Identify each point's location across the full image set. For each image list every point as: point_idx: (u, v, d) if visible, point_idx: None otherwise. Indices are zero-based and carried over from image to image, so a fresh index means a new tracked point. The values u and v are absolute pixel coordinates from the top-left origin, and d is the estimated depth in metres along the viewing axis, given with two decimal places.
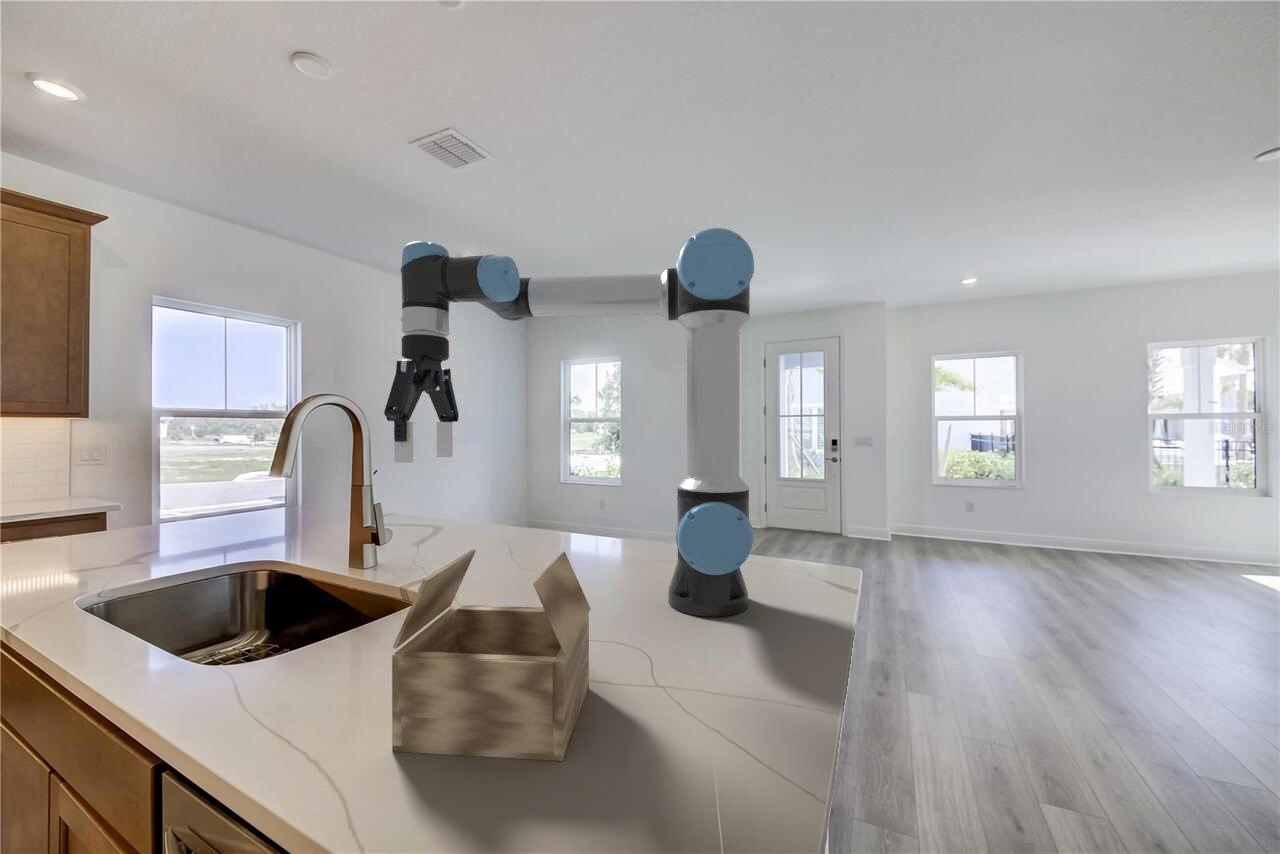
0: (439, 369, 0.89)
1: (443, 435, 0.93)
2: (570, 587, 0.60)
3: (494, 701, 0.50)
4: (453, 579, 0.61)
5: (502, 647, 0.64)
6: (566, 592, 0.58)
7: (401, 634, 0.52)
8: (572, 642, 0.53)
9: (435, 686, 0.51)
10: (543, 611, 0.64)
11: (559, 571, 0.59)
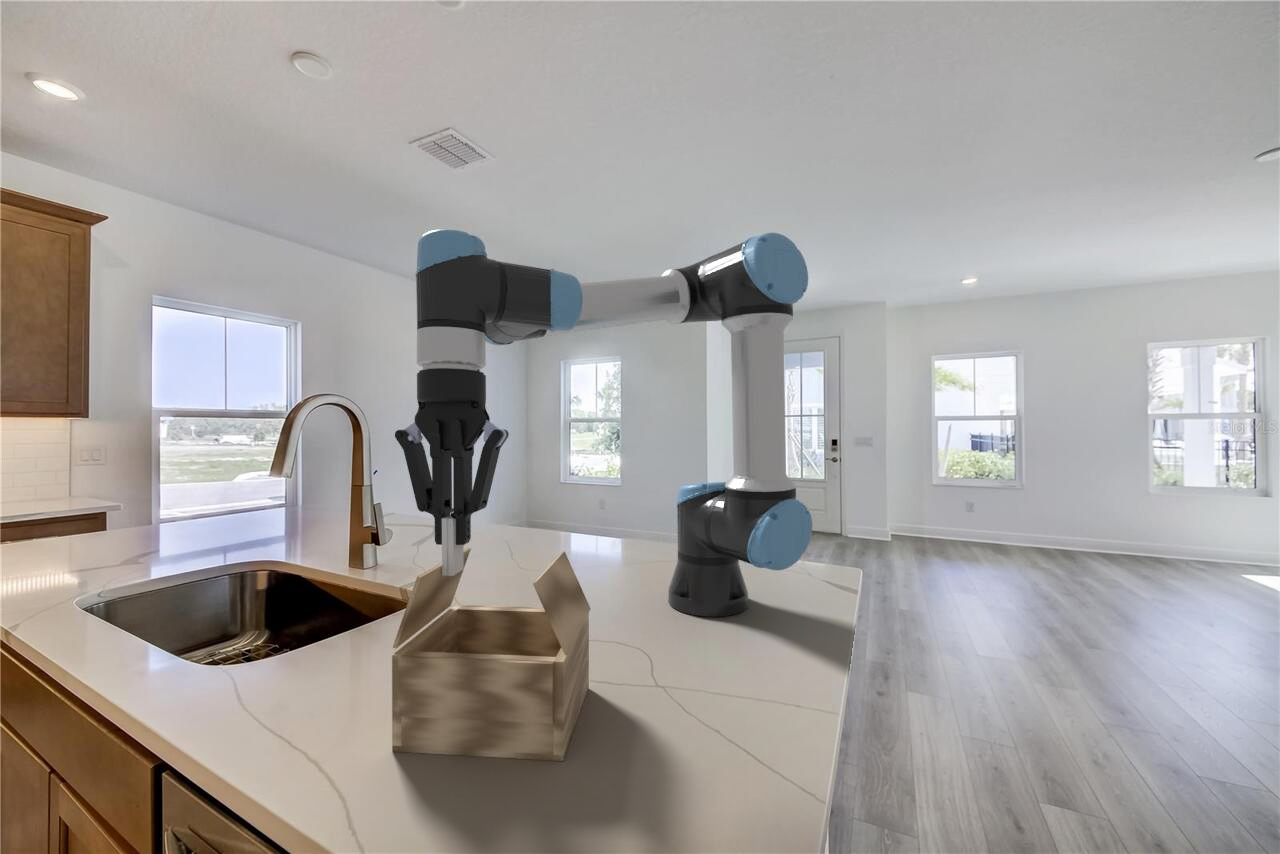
0: (473, 414, 0.57)
1: None
2: (570, 587, 0.60)
3: (494, 701, 0.50)
4: (450, 577, 0.61)
5: (502, 647, 0.64)
6: (566, 592, 0.58)
7: (400, 633, 0.52)
8: (572, 642, 0.53)
9: (435, 686, 0.51)
10: (543, 611, 0.64)
11: (559, 571, 0.59)
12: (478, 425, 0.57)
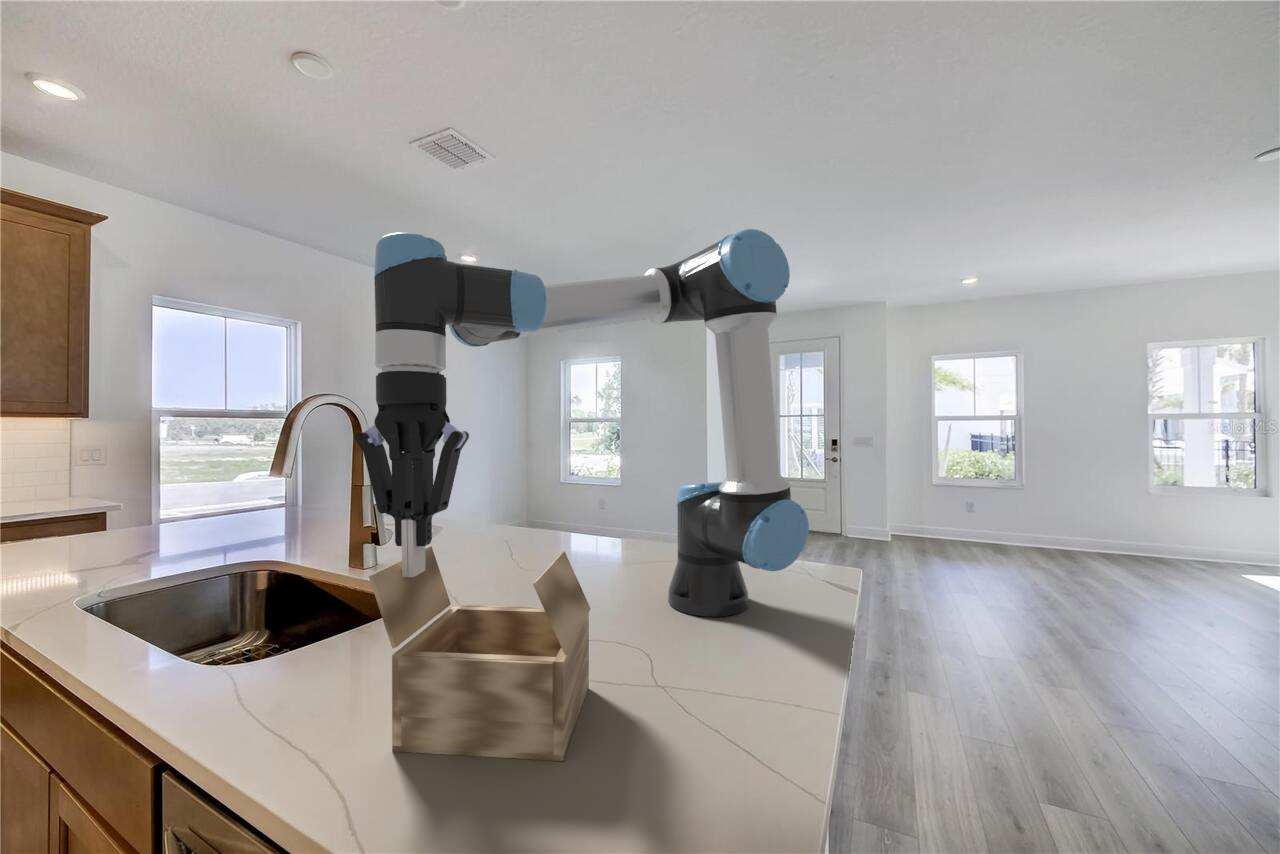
0: (432, 416, 0.57)
1: None
2: (570, 587, 0.60)
3: (494, 701, 0.50)
4: (423, 575, 0.61)
5: (502, 647, 0.64)
6: (566, 592, 0.58)
7: (390, 632, 0.52)
8: (572, 642, 0.53)
9: (435, 686, 0.51)
10: (543, 611, 0.64)
11: (559, 571, 0.59)
12: (437, 427, 0.57)
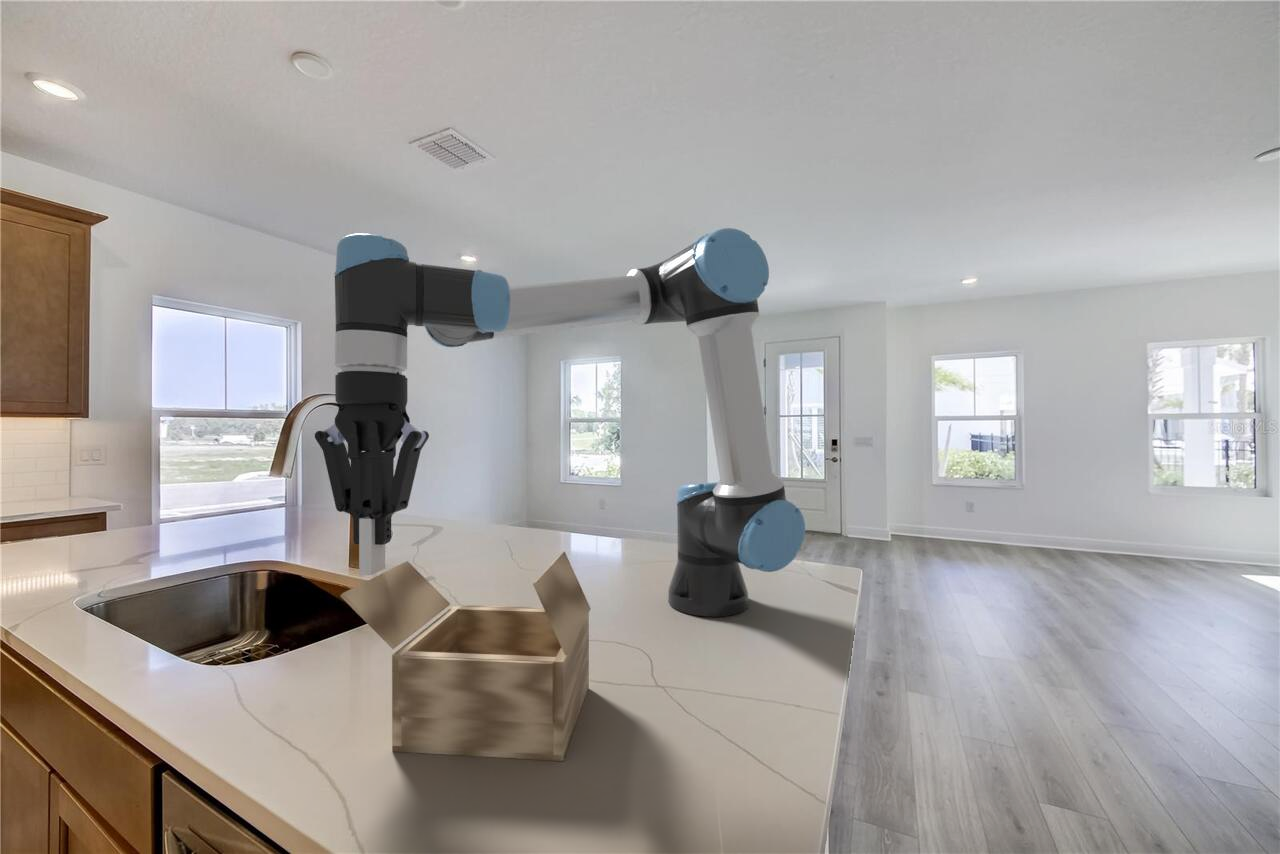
0: (391, 416, 0.58)
1: None
2: (570, 587, 0.60)
3: (494, 701, 0.50)
4: (406, 585, 0.61)
5: (502, 647, 0.64)
6: (566, 592, 0.58)
7: (383, 636, 0.52)
8: (572, 642, 0.53)
9: (435, 686, 0.51)
10: (543, 611, 0.64)
11: (559, 571, 0.59)
12: (396, 427, 0.58)
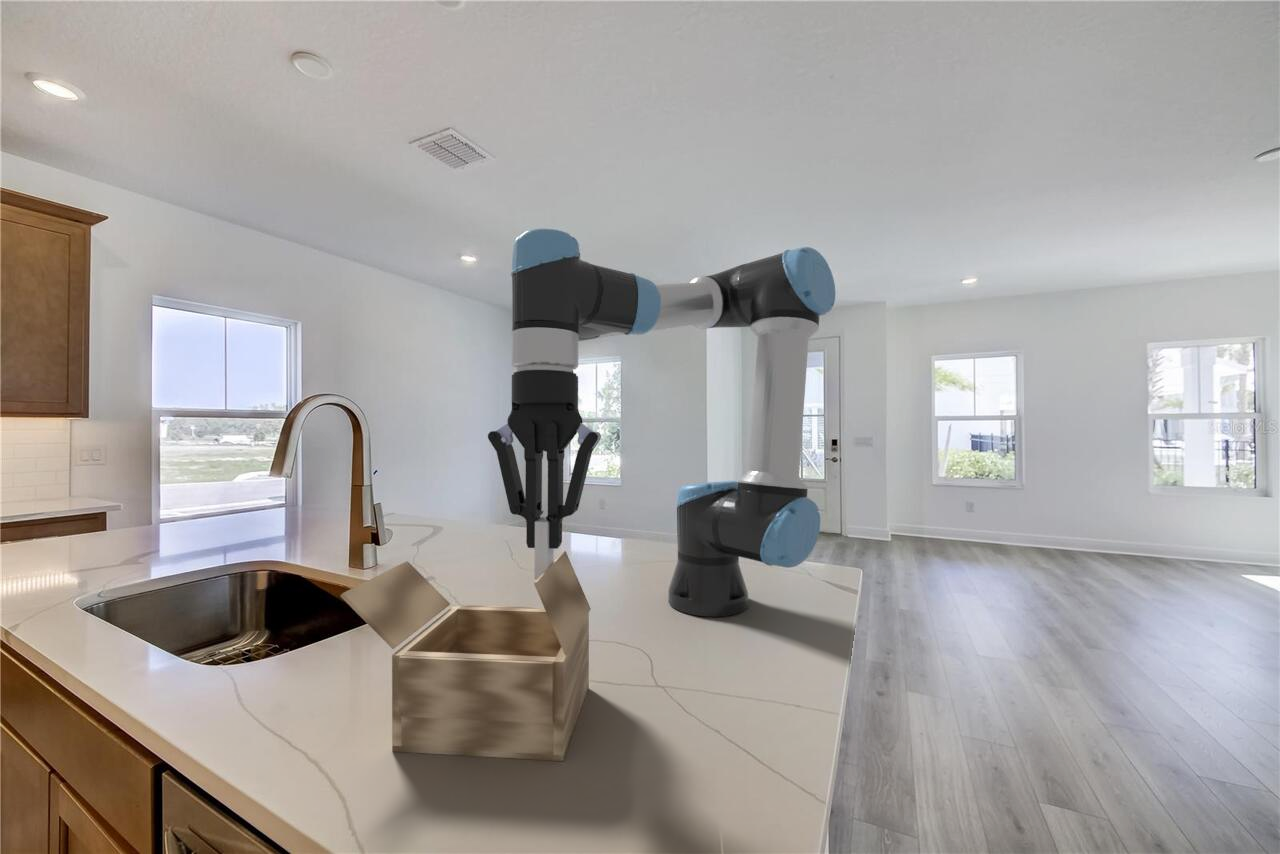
0: (568, 416, 0.56)
1: None
2: (571, 587, 0.60)
3: (494, 701, 0.50)
4: (406, 585, 0.61)
5: (502, 647, 0.64)
6: (567, 592, 0.58)
7: (383, 636, 0.52)
8: (572, 642, 0.53)
9: (435, 686, 0.51)
10: (543, 611, 0.64)
11: (560, 571, 0.59)
12: (573, 427, 0.56)
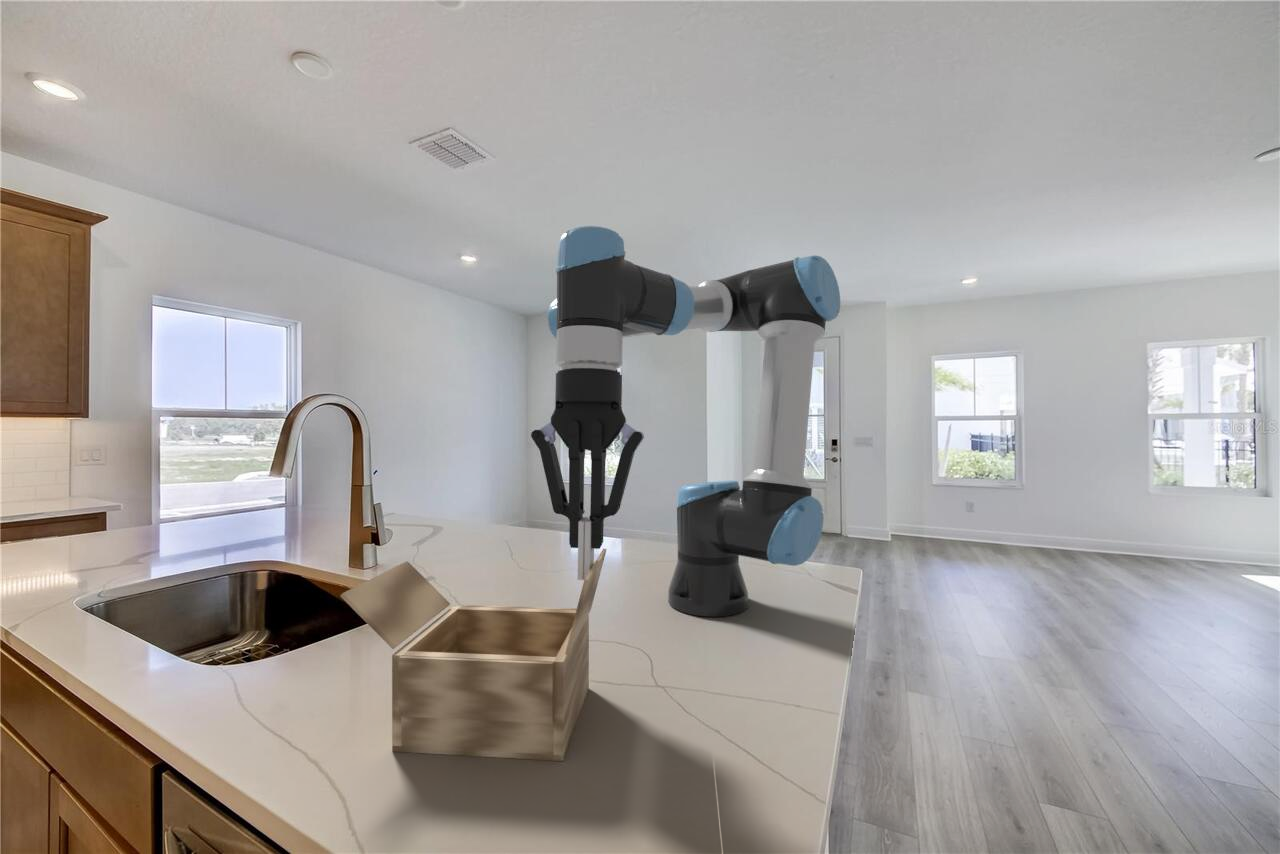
0: (613, 415, 0.56)
1: None
2: (594, 587, 0.60)
3: (494, 701, 0.50)
4: (406, 585, 0.61)
5: (502, 647, 0.64)
6: (591, 592, 0.58)
7: (383, 636, 0.52)
8: (573, 643, 0.53)
9: (435, 686, 0.51)
10: (543, 611, 0.64)
11: (597, 570, 0.58)
12: (617, 427, 0.56)
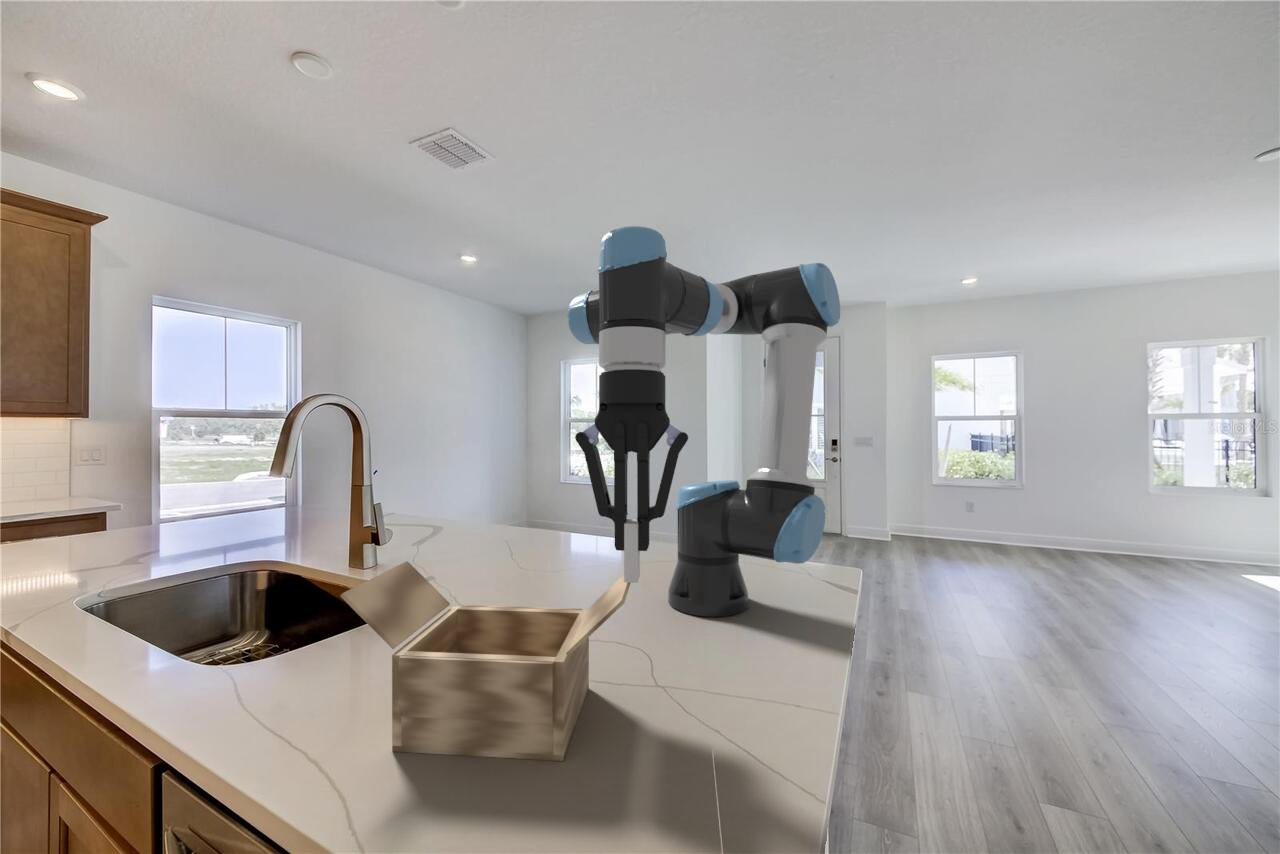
0: (658, 417, 0.55)
1: None
2: None
3: (494, 701, 0.50)
4: (406, 585, 0.61)
5: (502, 647, 0.64)
6: None
7: (383, 636, 0.52)
8: None
9: (435, 686, 0.51)
10: (543, 611, 0.64)
11: None
12: (663, 428, 0.55)
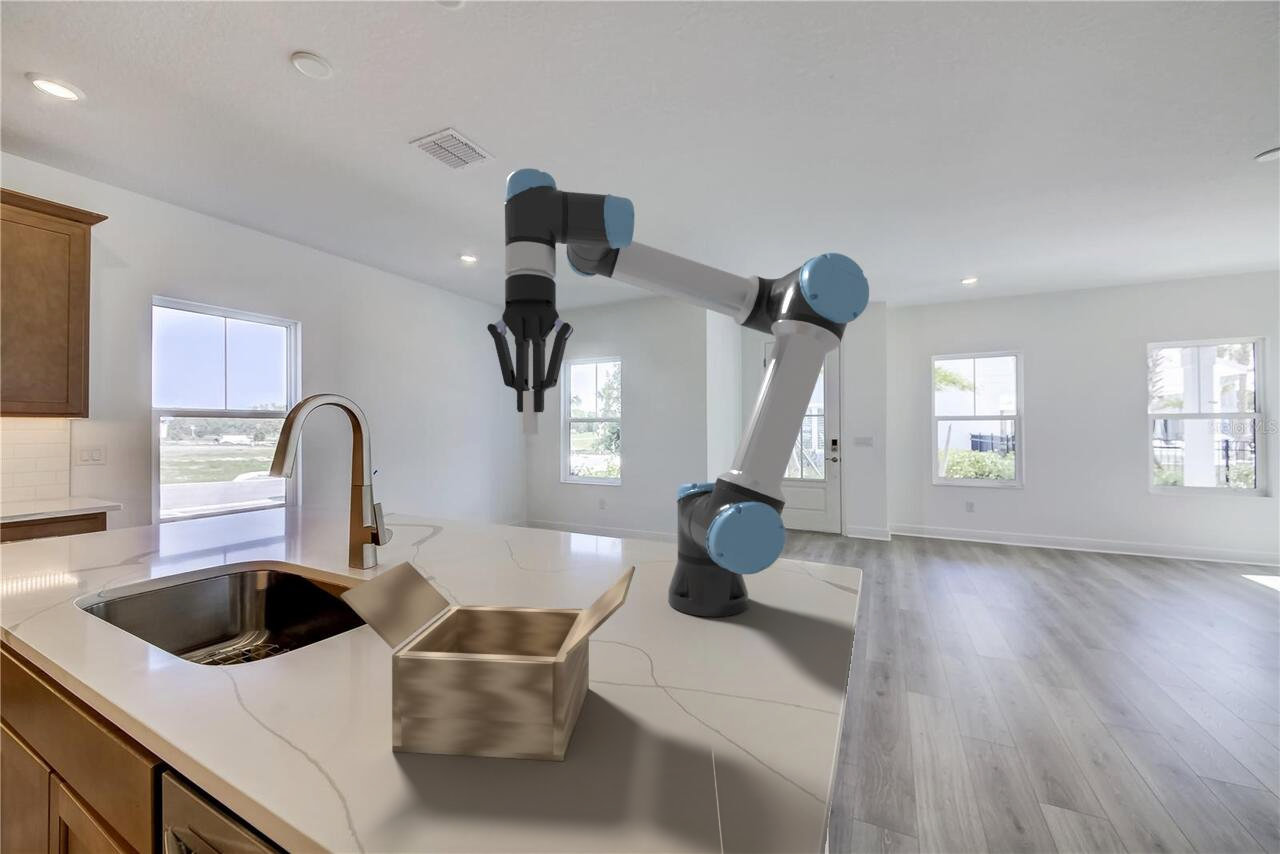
0: (548, 311, 0.74)
1: None
2: None
3: (494, 701, 0.50)
4: (406, 585, 0.61)
5: (502, 647, 0.64)
6: None
7: (383, 636, 0.52)
8: None
9: (435, 686, 0.51)
10: (543, 611, 0.64)
11: None
12: (551, 320, 0.75)
